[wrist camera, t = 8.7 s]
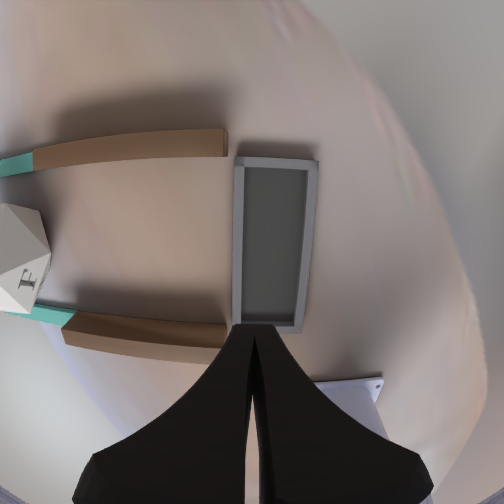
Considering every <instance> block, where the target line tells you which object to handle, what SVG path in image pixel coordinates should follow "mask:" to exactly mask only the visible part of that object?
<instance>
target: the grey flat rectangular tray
mask: <svg viewBox="0 0 504 504" xmlns="http://www.w3.org/2000/svg"><path fill="white" fill-rule="evenodd" d="M318 165H319V161H314V160H301V159H286V158H266V157H235V159H234V201H233V269H232V326H234V325H235V324H273V325H274V326H275V327H276V329H277V332H278V333H301V332H302V325H303V318H304V311H305V303H306V295H307V287H308V279H309V270H310V261H311V252H312V242H313V231H314V220H315V208H316V195H317V181H318Z"/></svg>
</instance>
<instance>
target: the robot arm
mask: <svg viewBox="0 0 504 504" xmlns="http://www.w3.org/2000/svg"><path fill="white" fill-rule="evenodd" d="M383 383H384V379H383V377H374V378H366V379H356V380H345V381H332V382H315V383H313V382H312V380H311V379H310V378H309V377H308V376H307V375H306V373H305V372H304V371H303V370H302V368H301V367H300V366H299V365H298V363H297V362H296V360H295V359H294V358H293V356H292V355H291V353H290V352H289V350H288V349H287V347H286V346H285V344H284V342H283V341H282V339H281V337H280V335H279V334H278V332H277V329H276V327H275V326H274V325H273V324H235V325H234V326H232V329H231V332H230V334H229V336H228V338H227V340H226V341H225V343H224V345H223V347H222V348H221V350H220V351H219V353H218V354H217V356H216V357H215V359H214V360H213V362H212V363H211V364H210V366H209V367H208V368H207V369H206V371H205V372H204V373H203V374H202V376H201V377H200V378H199V379H198V380H197V382H196V383H195V384H194V385H193V386H192V387H191V388H190V389H189V390H188V391H187V392H186V393H185V394H184V395H183V396H182V397H181V398H180V399H179V400H178V401H177V402H175V403H174V404H173V405H172V406H171V407H170V408H169V409H167V410H166V411H165V412H164V413H162V414H161V415H160V416H159V417H157V418H156V419H155V420H153V421H152V422H150V423H149V424H147V425H146V426H144V427H143V428H141V429H140V430H138V431H137V432H135V433H134V434H132V435H130V436H129V437H127V438H125V439H123V440H121V441H120V442H117V443H115V444H113V445H112V446H110V447H108V448H105V449H104V450H101V451H99V452H97V453H94V454H93V455H92V457H91V459H90V461H89V462H88V463H87V465H86V467H85V468H84V471H83V472H82V474H81V477H80V479H79V482H78V485H77V487H76V489H75V492H74V495H73V497H72V501H73V503H74V504H245V455H246V444H247V436H248V428H249V420H250V411H251V403H252V394H253V402H254V412H255V420H256V429H257V438H258V447H259V504H433V501H432V497H431V494H430V493H431V491H432V489H433V487H434V485H433V482H432V480H431V478H430V475H429V472H428V470H427V468H426V466H425V464H424V463H423V461H422V459H421V457H420V455H419V454H418V453H415V452H413V451H411V450H408V449H406V448H404V447H402V446H400V445H397V444H395V443H393V442H391V441H389V438H388V436H387V433H386V431H385V428H384V426H383V423H382V421H381V418H380V416H379V413H378V411H377V409H376V406H375V402H376V399H377V397H378V395H379V393H380V390H381V388H382V386H383ZM0 504H28V503H26V502H24V501H23V500H21V499H20V498H18V497H16V496H15V495H13V494H12V493H10V492H9V491H7V490H6V489H4V488H3V487H2V486H0ZM479 504H504V487H503V488H502V489H500V490H499V491H497V492H496V493H494V494H493V495H491V496H490V497H488V498H487V499H485V500H483V501H482V502H480V503H479Z"/></svg>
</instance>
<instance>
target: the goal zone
mask: <svg viewBox="0 0 504 504" xmlns="http://www.w3.org/2000/svg"><path fill="white" fill-rule="evenodd" d="M30 171H33V163H32V152H31V153H26V154H22V155H18V156H14V157H10V158H6V159H3V160H0V177H4V176H9V175H14V174H19V173H25V172H30ZM77 311H78V310H71V309H65V308H58V307H52V306H47V305H41V304H35V303H34V306H33V308H32V311H31V313H30V314H26V313H16V312H6V311H3V312H5V313H9V314H13V315H17V316H21V317H25V318H29V319H33V320H38V321H42V322H47V323H52V324H57V325H62V326H64V325H65V324H66V323H67V322H68V320H69V319H70V318H71V317H72V316H73V315H74V314H75V313H76V312H77Z"/></svg>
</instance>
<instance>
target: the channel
mask: <svg viewBox="0 0 504 504" xmlns="http://www.w3.org/2000/svg"><path fill="white" fill-rule="evenodd" d="M226 156H228V132H227V131H225V130H224V129H185V130H165V131H151V132H139V133H129V134H120V135H111V136H103V137H96V138H89V139H83V140H77V141H71V142H66V143H60V144H55V145H50V146H45V147H41V148H36V149H32V163H33V171H38V170H44V169H50V168H57V167H64V166H71V165H79V164H88V163H97V162H107V161H119V160H132V159H148V158H169V157H226ZM61 331H62V334H63V337H64V340H65V343H66V344H68V345H72V346H77V347H82V348H86V349H92V350H97V351H102V352H108V353H114V354H120V355H126V356H133V357H140V358H148V359H156V360H164V361H174V362H184V363H196V364H211V363H212V362H213V360H214V359H215V357H216V356H217V354H218V353H219V351H220V350H221V348H222V347H223V345H224V343H225V341H226V340H227V333H226V324H208V323H191V322H177V321H165V320H153V319H143V318H133V317H124V316H115V315H107V314H99V313H92V312H84V311H77V312H76V313H75V314H74V315H73V316H72V317H71V318H70V319H69V320H68V322H67V323H66V324H65V325H64V326H63V327H62V328H61Z"/></svg>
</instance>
